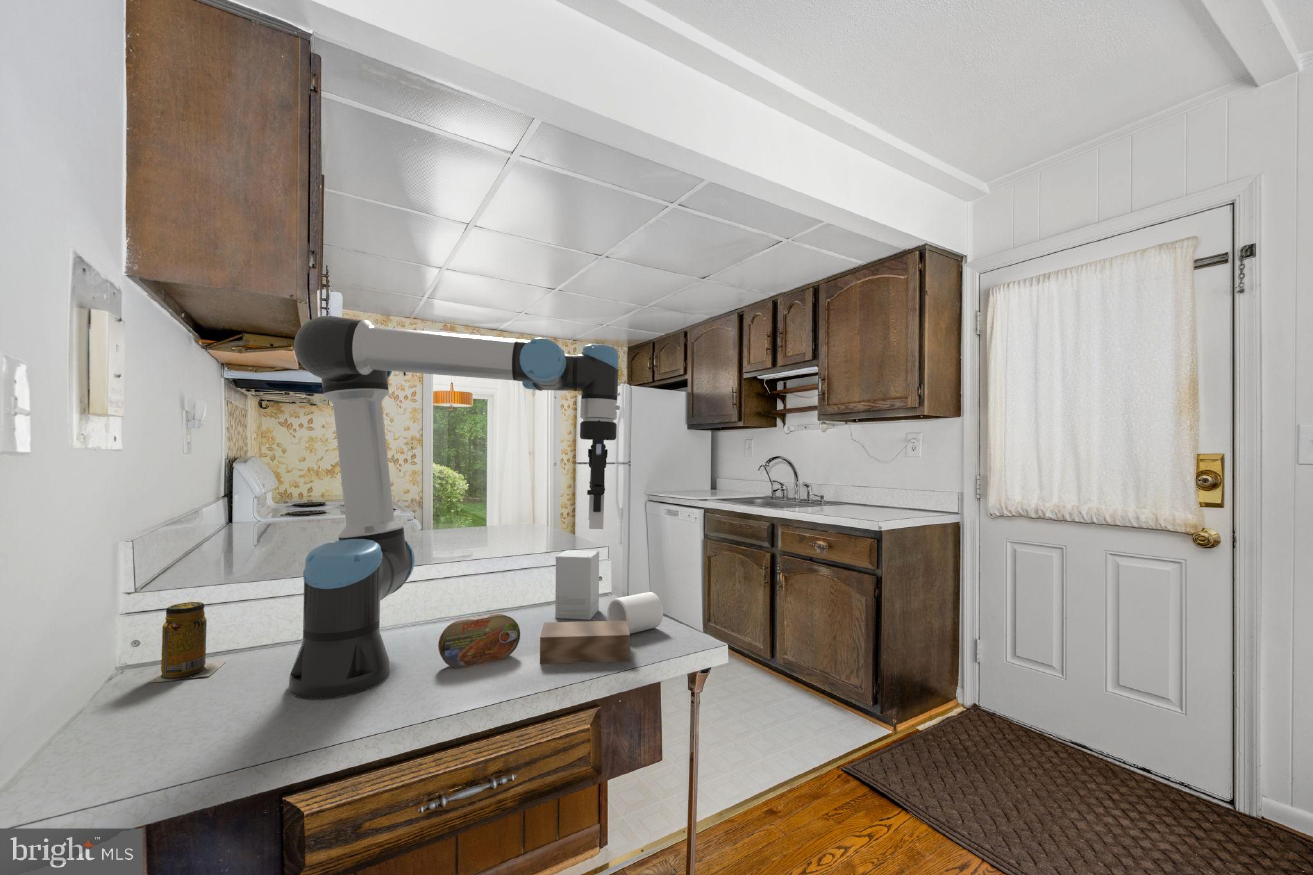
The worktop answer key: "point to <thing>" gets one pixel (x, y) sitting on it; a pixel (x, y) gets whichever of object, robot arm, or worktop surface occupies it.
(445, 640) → the tin
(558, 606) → the supplement box
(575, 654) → the plinth
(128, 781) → the worktop surface
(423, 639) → the worktop surface
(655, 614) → the mug
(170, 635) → the condiment
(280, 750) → the worktop surface
